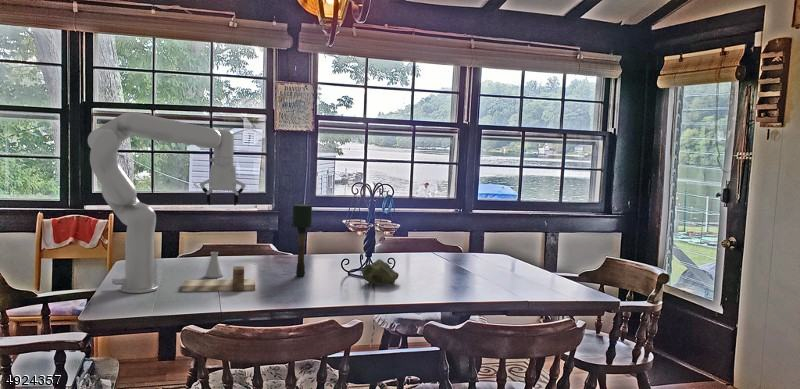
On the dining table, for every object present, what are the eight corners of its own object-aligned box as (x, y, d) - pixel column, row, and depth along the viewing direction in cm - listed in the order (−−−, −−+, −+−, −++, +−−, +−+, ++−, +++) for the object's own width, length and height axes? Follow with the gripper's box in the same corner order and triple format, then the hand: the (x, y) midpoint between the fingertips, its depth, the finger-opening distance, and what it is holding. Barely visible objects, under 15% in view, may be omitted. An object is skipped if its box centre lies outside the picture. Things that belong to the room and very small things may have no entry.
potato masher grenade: (314, 275, 257) (316, 205, 254) (303, 278, 249) (305, 206, 247) (297, 272, 260) (299, 203, 258) (286, 276, 252) (288, 205, 250)
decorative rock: (407, 284, 247) (408, 260, 246) (384, 290, 234) (385, 265, 233) (378, 278, 256) (379, 255, 255) (354, 284, 243) (355, 260, 242)
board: (181, 291, 220) (181, 285, 220) (184, 285, 230) (184, 279, 229) (255, 290, 227) (255, 284, 226) (254, 284, 236) (254, 278, 236)
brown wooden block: (232, 290, 223) (233, 270, 222) (233, 282, 236) (233, 262, 236) (243, 290, 224) (244, 270, 223) (243, 282, 237) (244, 262, 237)
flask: (220, 278, 243) (220, 254, 242) (202, 278, 243) (202, 253, 242) (225, 275, 250) (225, 251, 250) (207, 274, 250) (208, 250, 249)
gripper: (199, 161, 231) (198, 205, 232) (246, 162, 235) (245, 206, 237) (201, 160, 238) (200, 203, 240) (246, 162, 243) (245, 204, 244)
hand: (222, 204), depth 238 cm, fingers open, 9 cm apart
